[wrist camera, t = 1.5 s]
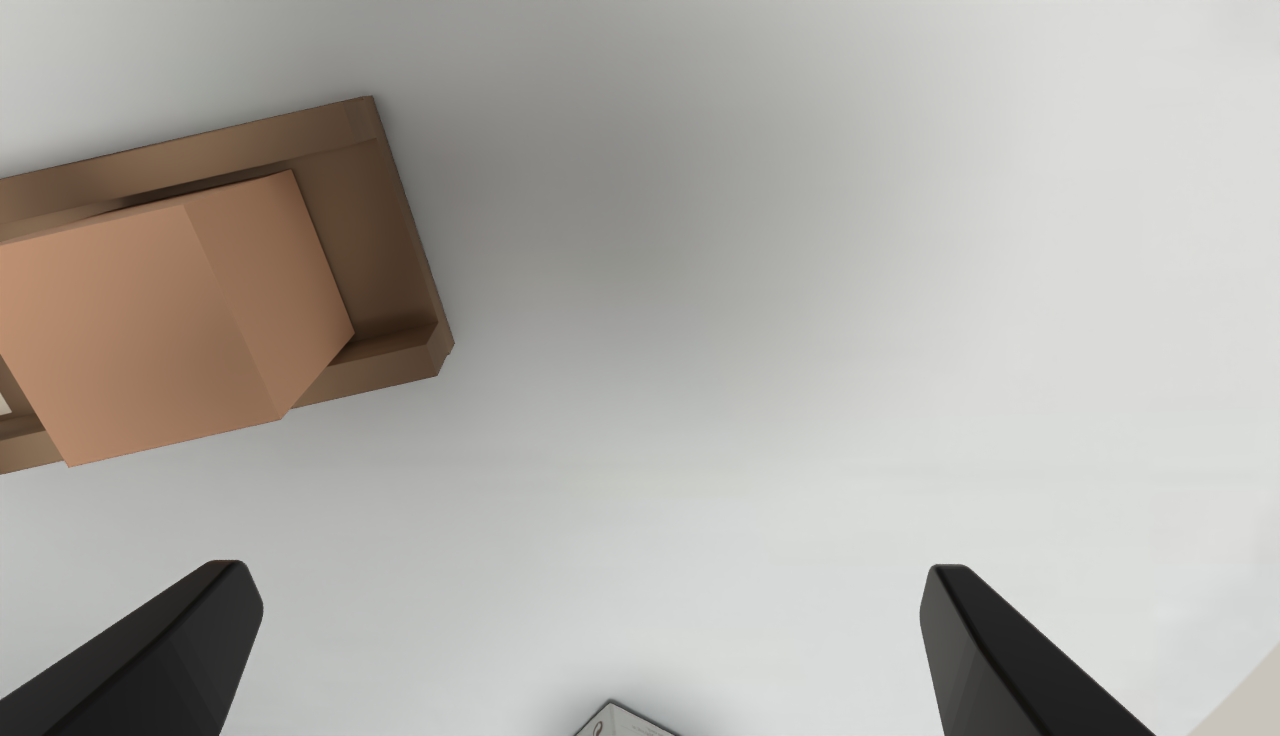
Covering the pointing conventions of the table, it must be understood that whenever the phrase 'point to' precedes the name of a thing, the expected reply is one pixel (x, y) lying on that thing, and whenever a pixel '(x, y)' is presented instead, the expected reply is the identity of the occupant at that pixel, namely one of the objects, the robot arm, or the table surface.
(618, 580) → the table surface
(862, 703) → the table surface
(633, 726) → the skincare box
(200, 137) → the chute
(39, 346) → the block
